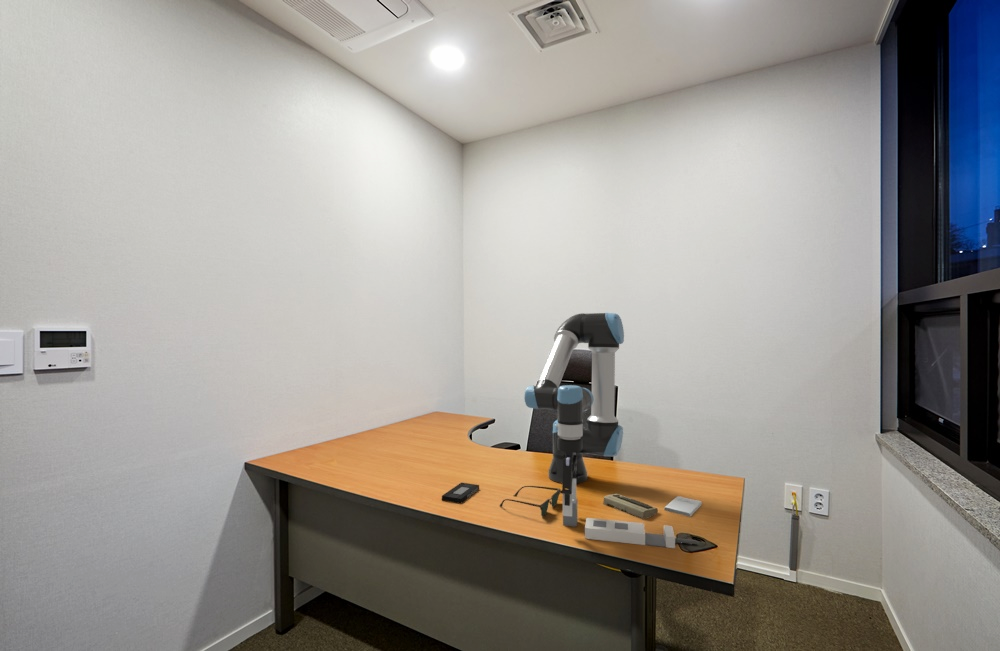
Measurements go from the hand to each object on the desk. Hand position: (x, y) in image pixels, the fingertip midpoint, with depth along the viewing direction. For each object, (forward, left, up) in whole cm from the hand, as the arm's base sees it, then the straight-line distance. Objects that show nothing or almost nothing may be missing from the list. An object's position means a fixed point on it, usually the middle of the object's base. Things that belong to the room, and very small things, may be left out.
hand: (569, 507), depth 139 cm
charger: (0, 0, -5) cm, 5 cm away
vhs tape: (-15, -40, -6) cm, 43 cm away
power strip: (+5, +20, -5) cm, 21 cm away
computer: (-16, +18, -6) cm, 25 cm away
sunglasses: (-11, -15, -6) cm, 19 cm away
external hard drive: (-21, +35, -6) cm, 41 cm away
